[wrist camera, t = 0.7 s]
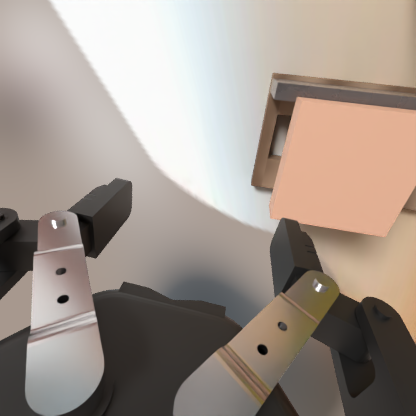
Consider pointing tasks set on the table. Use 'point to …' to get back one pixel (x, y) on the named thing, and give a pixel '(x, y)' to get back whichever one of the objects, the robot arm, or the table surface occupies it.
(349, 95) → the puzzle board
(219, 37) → the table surface
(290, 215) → the sliding cover
